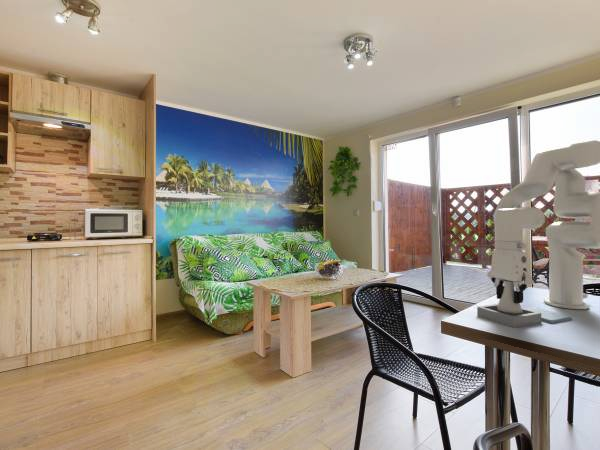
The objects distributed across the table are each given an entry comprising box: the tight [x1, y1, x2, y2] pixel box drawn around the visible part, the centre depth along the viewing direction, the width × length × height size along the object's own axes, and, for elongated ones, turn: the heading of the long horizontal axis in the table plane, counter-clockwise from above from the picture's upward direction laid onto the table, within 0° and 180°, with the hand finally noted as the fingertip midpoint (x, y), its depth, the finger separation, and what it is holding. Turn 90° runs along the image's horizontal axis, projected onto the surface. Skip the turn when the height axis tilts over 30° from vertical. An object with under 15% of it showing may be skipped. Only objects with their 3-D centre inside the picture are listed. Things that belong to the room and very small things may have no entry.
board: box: [529, 307, 573, 324], centre depth 99 cm, size 10×10×1 cm
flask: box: [497, 280, 523, 313], centre depth 98 cm, size 7×7×10 cm
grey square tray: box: [476, 303, 542, 328], centre depth 98 cm, size 12×12×3 cm
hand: (509, 299), depth 98 cm, fingers closed on flask, 5 cm apart
